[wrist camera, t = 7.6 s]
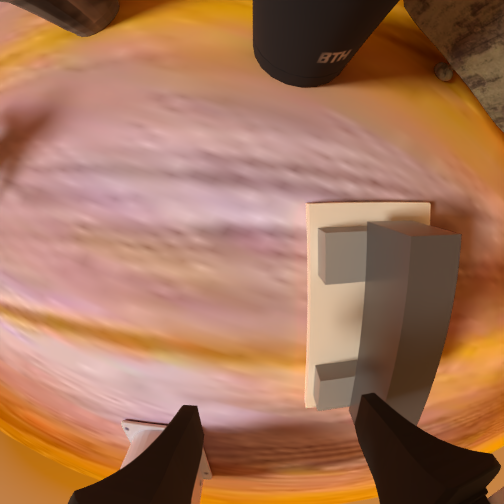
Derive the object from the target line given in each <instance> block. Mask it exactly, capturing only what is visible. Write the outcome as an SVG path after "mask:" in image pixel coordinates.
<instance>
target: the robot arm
mask: <svg viewBox="0 0 504 504" xmlns="http://www.w3.org/2000/svg"><path fill="white" fill-rule="evenodd" d="M121 425H122V427H123V429H124V431H125V433H126V435H127V437H128V439H129V441H130V443H131V445H130V447H129V449H128V452H127V454H126V456H125V459H124V461H123V464H122V466H121V468H120V470H119V471H117V472H116V473H114V474H112V475H110V476H108V477H107V478H105V479H103V480H101V481H99V482H97V483H95V484H92V485H90V486H87V487H84V488H82V489H79V490H76V491H74V493H73V495H72V496H71V498H70V500H69V502H68V504H200V497H201V491H202V485H203V479H212V473H211V470H210V467H209V463H208V460H207V457H206V454H205V451H204V447H203V439H204V433H203V429H202V425H201V421H200V417H199V412H198V408H197V406H191V405H183V406H182V407H181V408H180V410H179V411H178V412H177V414H176V415H175V416H174V418H173V419H172V420H171V422H170V423H169V424H168V425H167V426H166V425H156V424H148V423H141V422H134V421H127V420H123V421H122V422H121ZM355 429H356V433H357V437H358V441H359V444H360V446H361V449H362V451H363V454H364V456H365V459H366V461H367V463H368V466H369V468H370V471H371V473H372V476H373V478H374V481H375V484H376V488H377V492H378V496H379V501H380V504H504V487H503V488H501V489H500V490H499V491H497V492H496V493H494V494H493V495H492V496H490V497H489V498H488V499H487V497H486V496H485V495H486V494H487V493H488V491H487V489H486V486H487V485H488V484H489V483H490V482H491V481H492V480H493V479H494V477H495V476H496V475H497V474H498V472H499V470H500V468H501V465H500V464H499V462H498V461H497V460H496V458H495V457H494V456H493V454H490V453H483V452H477V451H472V450H468V449H464V448H461V447H458V446H455V445H452V444H450V443H447V442H445V441H442V440H440V439H438V438H436V437H434V436H432V435H430V434H428V433H427V432H425V431H423V430H421V429H420V428H418V427H417V426H415V425H414V424H412V423H411V422H410V421H408V420H407V419H405V418H404V417H403V416H402V415H400V414H399V413H398V412H397V411H395V410H394V409H393V408H392V407H390V406H389V405H388V404H387V403H386V402H385V401H383V400H382V399H381V398H380V397H379V396H378V395H376V394H375V393H368V394H363V395H361V400H360V404H359V409H358V413H357V417H356V421H355Z"/></svg>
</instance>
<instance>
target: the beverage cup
mask: <svg viewBox="0 0 504 504" xmlns="http://www.w3.org/2000/svg"><path fill="white" fill-rule="evenodd" d="M0 1H1V2H9V3H11V4H13V5H16V6H18V7H20V8H22V9H25V10H27V11H29V12H31V13H33V14H35V15H38V16H40V17H42V18H44V19H46V20H48V21H50V22H52V23H54V24H56V25H57V26H59V27H61V28H63V29H65V30H67V31H70V32H72V33H75V34H76V35H78V36H81V37H87V36H91V35H93V34H96V33H97V32H99V31H101V30H102V29H104V28H105V27H106V26H107V25H108V24H109V23H110V22H111V21H112V20H113V19H114V18H115V16H116V14H117V12H118V9H119V2H118V0H0Z"/></svg>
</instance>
